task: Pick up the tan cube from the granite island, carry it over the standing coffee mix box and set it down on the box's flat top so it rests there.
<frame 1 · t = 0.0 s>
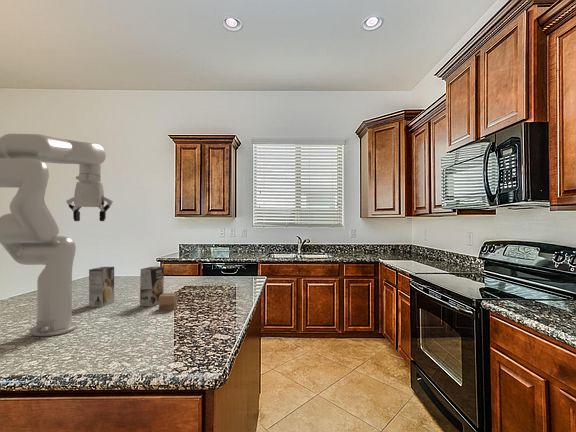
hand: (89, 221, 136), 37 cm above the countertop, tool pointing down, fingers open, 9 cm apart
coffee box 2: (101, 304, 147), on the countertop
coffee box: (152, 304, 148), on the countertop
tan cube: (168, 308, 140), on the countertop
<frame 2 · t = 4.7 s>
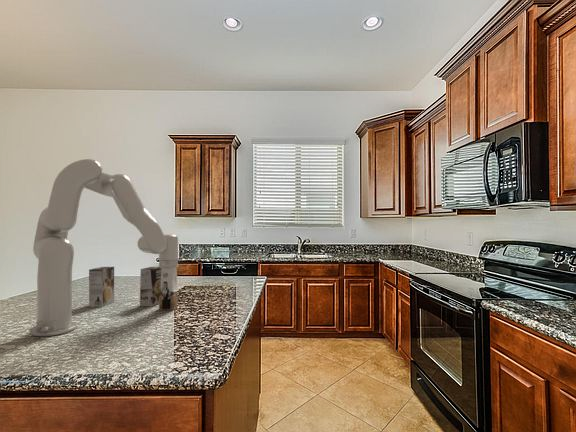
hand: (168, 306, 140), 1 cm above the countertop, tool pointing down, fingers closed on tan cube, 5 cm apart
tan cube: (168, 308, 140), on the countertop, touching gripper
everything else where it was.
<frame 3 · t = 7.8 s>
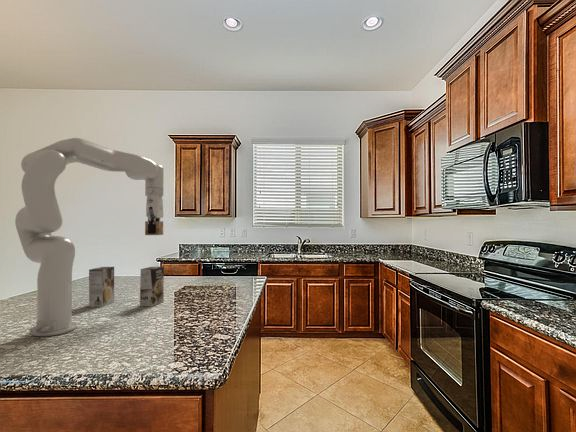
hand: (154, 232, 148), 32 cm above the countertop, tool pointing down, fingers closed on tan cube, 5 cm apart
tan cube: (154, 234, 148), point 31 cm above the countertop, touching gripper
everything else where it was.
when the fingers open (19 cm above the countertop, at t = 10.9 s): tan cube drops 2 cm, resting on coffee box.
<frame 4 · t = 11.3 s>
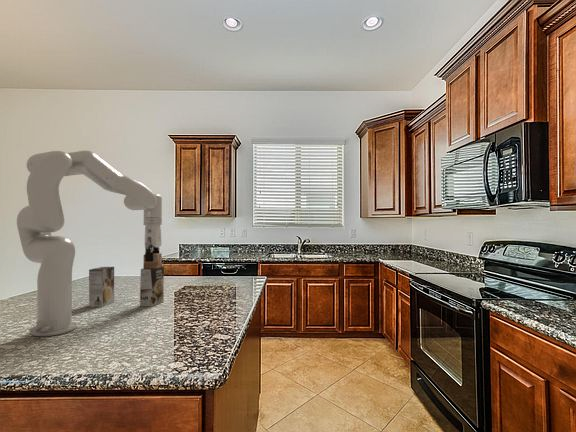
hand: (152, 260, 148), 19 cm above the countertop, tool pointing down, fingers open, 9 cm apart
coffee box: (152, 304, 148), on the countertop, touching tan cube
tan cube: (152, 267, 148), point 16 cm above the countertop, touching coffee box
everything else where it was.
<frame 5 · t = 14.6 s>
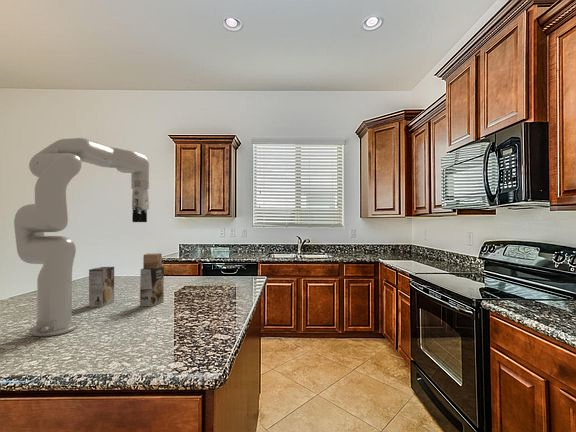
hand: (139, 222, 156), 36 cm above the countertop, tool pointing down, fingers open, 9 cm apart
nothing on the countertop moved.
at the end: tan cube touching coffee box; tan cube point 16.1 cm above the countertop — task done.
